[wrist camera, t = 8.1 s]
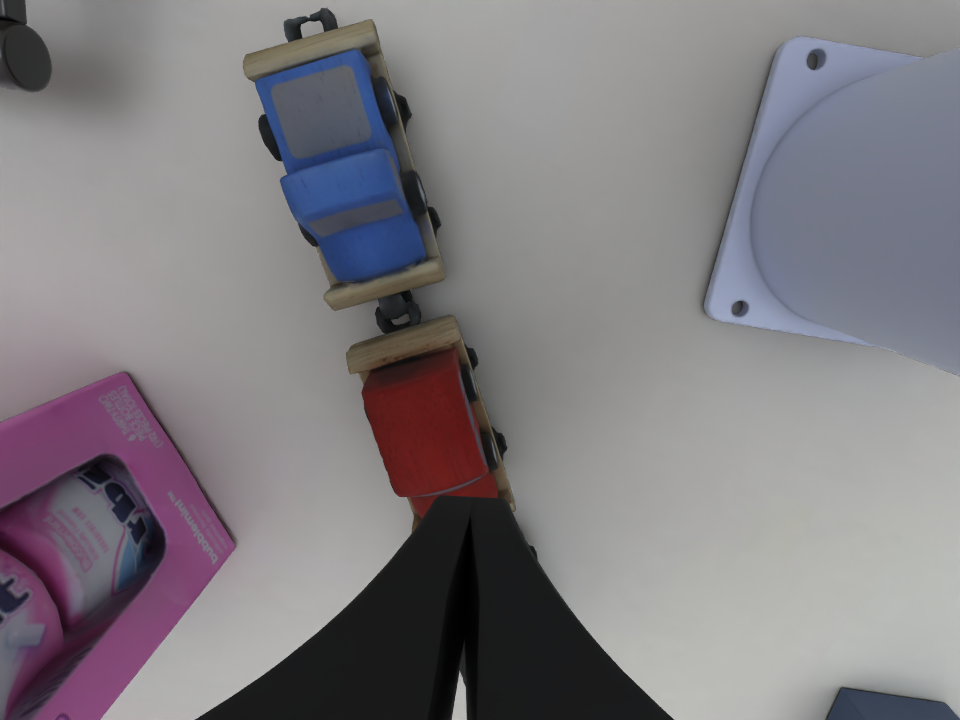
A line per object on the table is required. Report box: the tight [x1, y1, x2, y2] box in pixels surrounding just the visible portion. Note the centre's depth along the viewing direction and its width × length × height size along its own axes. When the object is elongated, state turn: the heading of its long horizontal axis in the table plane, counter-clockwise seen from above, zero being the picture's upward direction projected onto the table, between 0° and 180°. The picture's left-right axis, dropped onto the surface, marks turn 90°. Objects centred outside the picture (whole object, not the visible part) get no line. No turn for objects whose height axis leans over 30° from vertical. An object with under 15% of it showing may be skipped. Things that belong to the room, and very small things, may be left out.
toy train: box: [243, 8, 538, 686], centre depth 16 cm, size 4×22×5 cm, turn 16°
